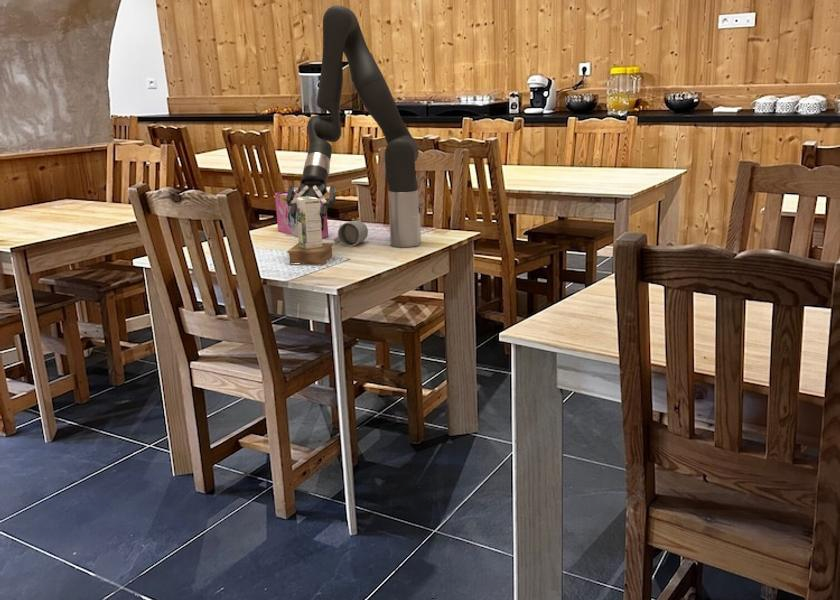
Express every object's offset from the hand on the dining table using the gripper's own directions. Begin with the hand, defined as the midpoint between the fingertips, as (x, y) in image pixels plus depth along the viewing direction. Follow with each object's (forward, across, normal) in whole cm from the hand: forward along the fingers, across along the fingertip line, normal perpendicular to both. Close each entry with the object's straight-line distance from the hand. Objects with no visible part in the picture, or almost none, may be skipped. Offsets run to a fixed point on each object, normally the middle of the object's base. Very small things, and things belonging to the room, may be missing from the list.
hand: (307, 216), depth 226 cm
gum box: (-18, -15, +37) cm, 44 cm away
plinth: (+8, 0, +10) cm, 13 cm away
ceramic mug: (-7, +6, +26) cm, 28 cm away
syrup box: (+6, 0, +8) cm, 10 cm away
